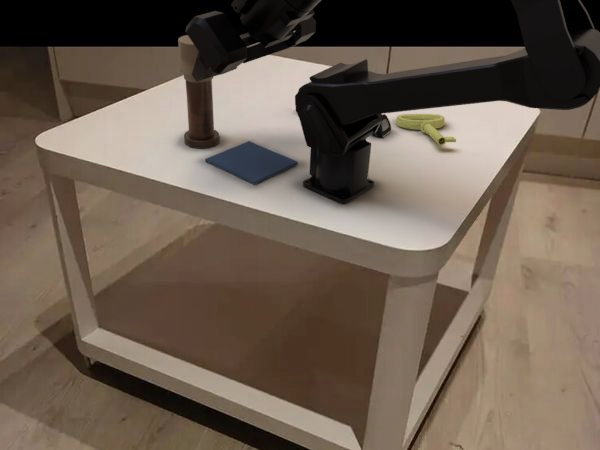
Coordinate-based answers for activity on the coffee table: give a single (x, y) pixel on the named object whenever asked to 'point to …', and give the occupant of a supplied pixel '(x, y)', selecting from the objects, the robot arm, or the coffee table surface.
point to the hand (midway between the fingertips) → (219, 68)
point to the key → (425, 125)
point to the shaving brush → (197, 100)
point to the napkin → (251, 162)
